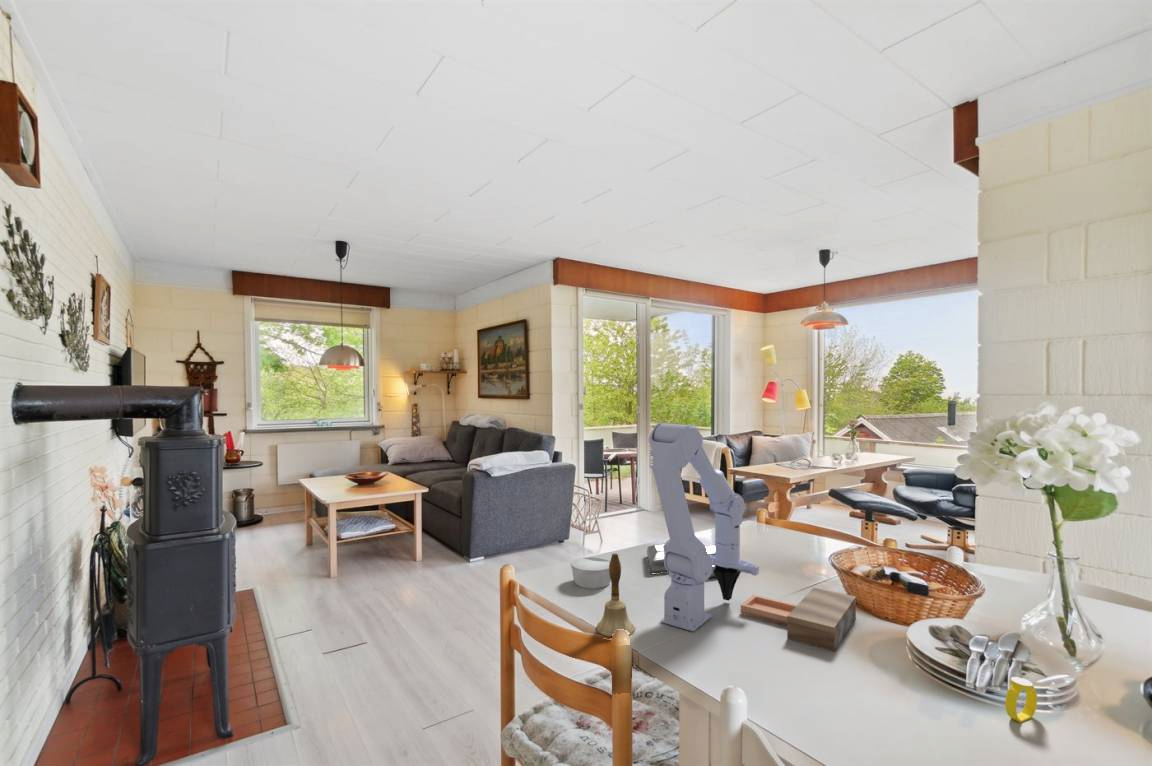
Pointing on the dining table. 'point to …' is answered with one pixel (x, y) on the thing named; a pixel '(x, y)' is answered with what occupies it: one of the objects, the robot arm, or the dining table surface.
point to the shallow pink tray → (767, 609)
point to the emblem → (657, 558)
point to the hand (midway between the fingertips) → (727, 598)
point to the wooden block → (821, 618)
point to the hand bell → (614, 605)
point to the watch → (1013, 696)
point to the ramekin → (591, 572)
